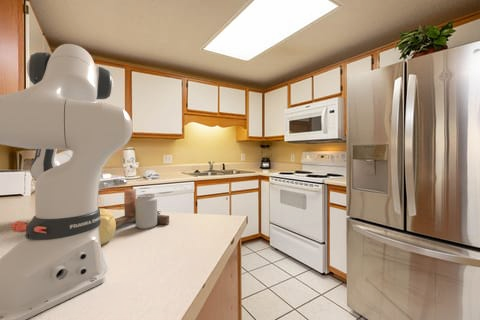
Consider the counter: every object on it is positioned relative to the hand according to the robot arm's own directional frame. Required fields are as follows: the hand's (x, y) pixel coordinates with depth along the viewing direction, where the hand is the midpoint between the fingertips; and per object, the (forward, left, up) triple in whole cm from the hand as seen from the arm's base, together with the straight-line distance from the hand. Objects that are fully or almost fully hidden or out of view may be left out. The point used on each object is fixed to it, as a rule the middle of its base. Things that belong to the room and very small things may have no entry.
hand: (116, 183), depth 91 cm
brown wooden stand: (-2, -13, -15) cm, 20 cm away
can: (-1, -15, -16) cm, 22 cm away
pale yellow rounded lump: (-19, -11, -16) cm, 27 cm away
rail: (+3, -7, -15) cm, 17 cm away
